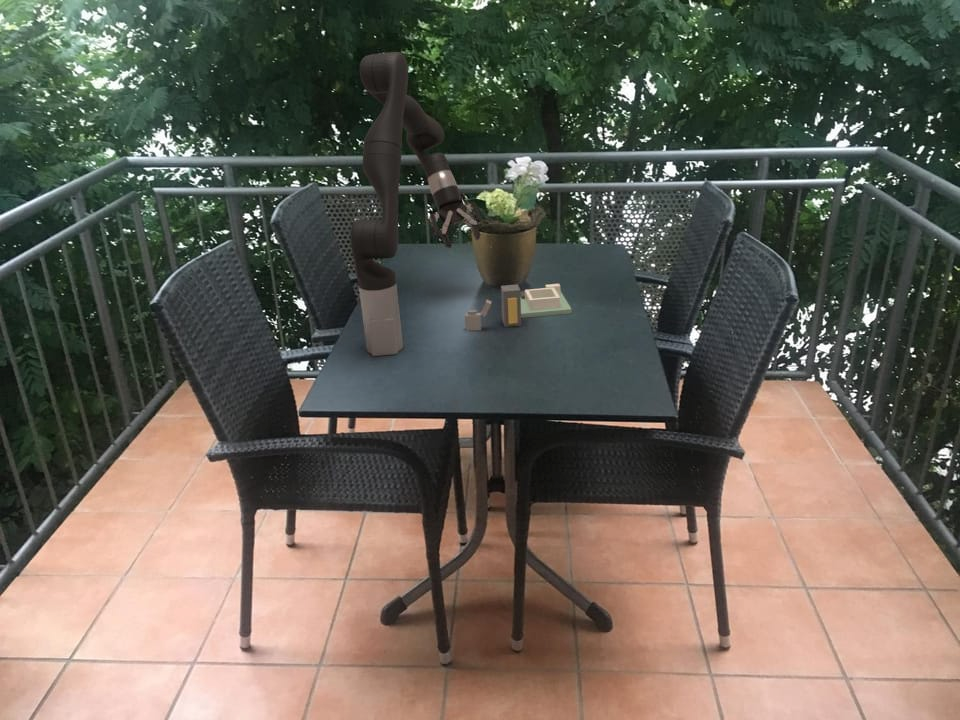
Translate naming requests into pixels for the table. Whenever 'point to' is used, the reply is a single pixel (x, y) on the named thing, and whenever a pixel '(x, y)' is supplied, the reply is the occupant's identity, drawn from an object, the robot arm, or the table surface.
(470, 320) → the lighter
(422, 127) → the robot arm
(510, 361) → the table surface
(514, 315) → the grey yellow block
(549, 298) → the board
